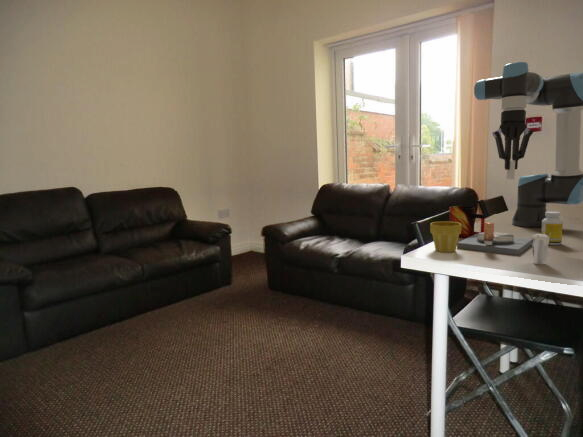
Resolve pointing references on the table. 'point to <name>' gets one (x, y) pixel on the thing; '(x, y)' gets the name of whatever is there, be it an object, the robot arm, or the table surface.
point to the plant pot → (445, 235)
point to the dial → (494, 236)
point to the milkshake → (540, 248)
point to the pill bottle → (552, 227)
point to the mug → (466, 219)
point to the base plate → (495, 245)
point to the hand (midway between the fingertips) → (510, 179)
